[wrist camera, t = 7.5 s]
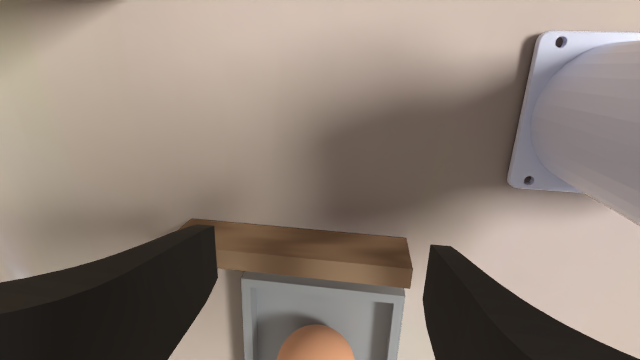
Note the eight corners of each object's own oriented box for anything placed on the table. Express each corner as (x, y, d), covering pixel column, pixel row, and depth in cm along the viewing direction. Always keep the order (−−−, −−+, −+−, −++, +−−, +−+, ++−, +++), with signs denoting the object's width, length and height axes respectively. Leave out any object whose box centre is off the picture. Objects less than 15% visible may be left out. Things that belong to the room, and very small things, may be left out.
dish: (402, 280, 22) (405, 296, 21) (387, 399, 26) (389, 421, 24) (249, 264, 24) (240, 278, 22) (253, 379, 27) (246, 399, 25)
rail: (406, 238, 22) (412, 269, 18) (404, 255, 22) (410, 288, 19) (191, 218, 23) (162, 243, 20) (193, 234, 24) (164, 262, 20)
